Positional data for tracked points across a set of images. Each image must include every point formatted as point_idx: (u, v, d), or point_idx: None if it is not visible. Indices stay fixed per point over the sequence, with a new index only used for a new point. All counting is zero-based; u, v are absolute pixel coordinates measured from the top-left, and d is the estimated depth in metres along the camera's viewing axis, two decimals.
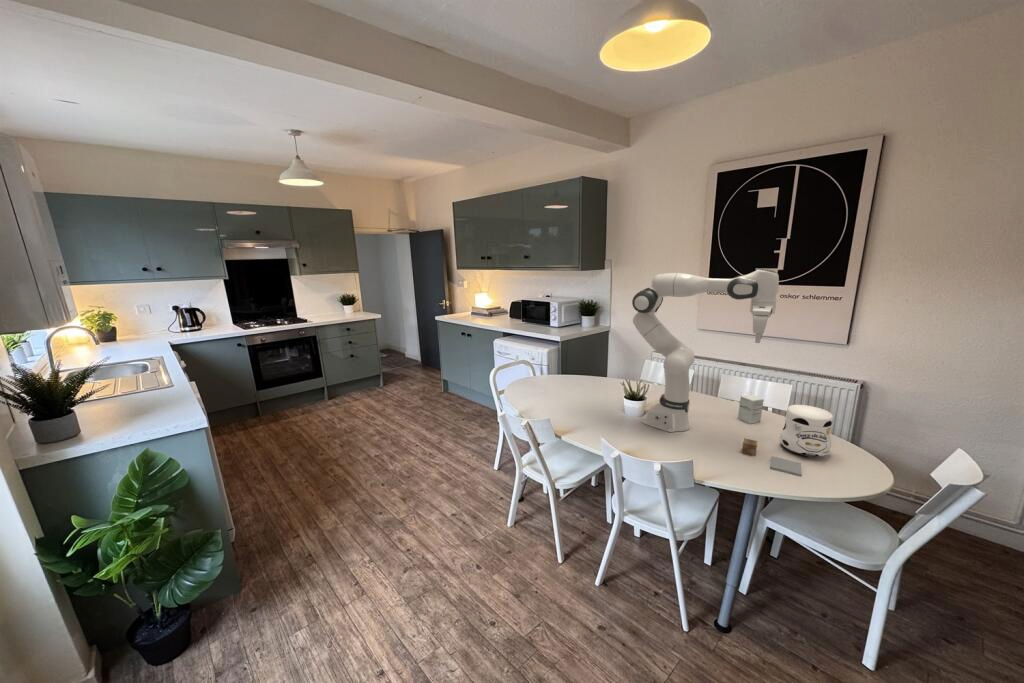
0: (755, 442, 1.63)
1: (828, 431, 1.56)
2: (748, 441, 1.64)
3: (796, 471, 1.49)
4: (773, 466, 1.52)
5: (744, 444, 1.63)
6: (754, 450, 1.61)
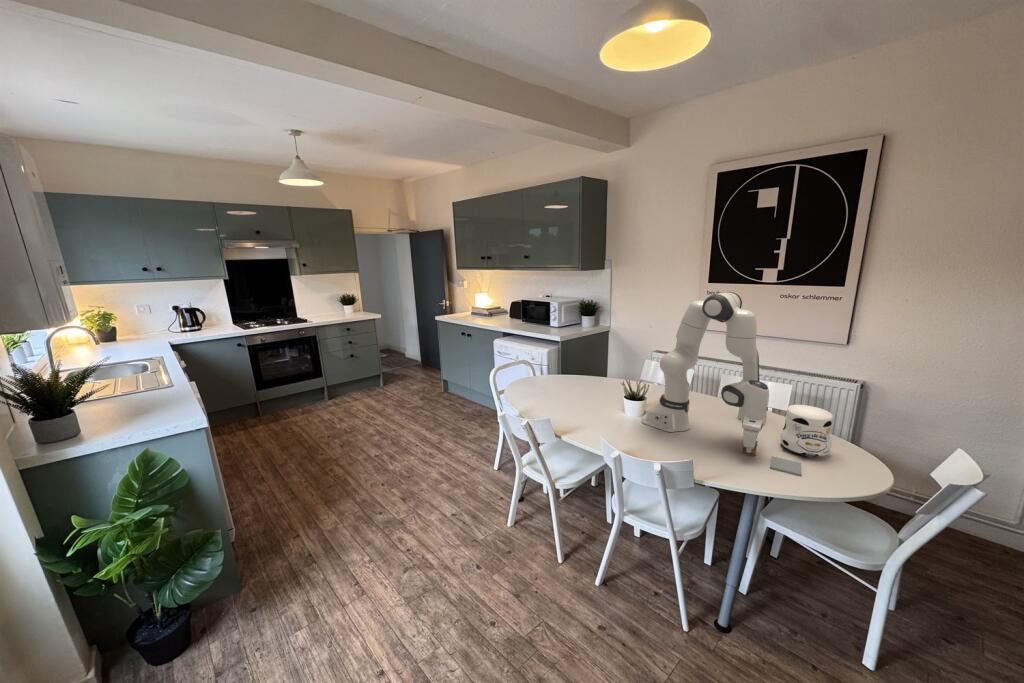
0: None
1: (828, 431, 1.56)
2: None
3: (796, 471, 1.49)
4: (773, 466, 1.52)
5: None
6: (754, 450, 1.61)
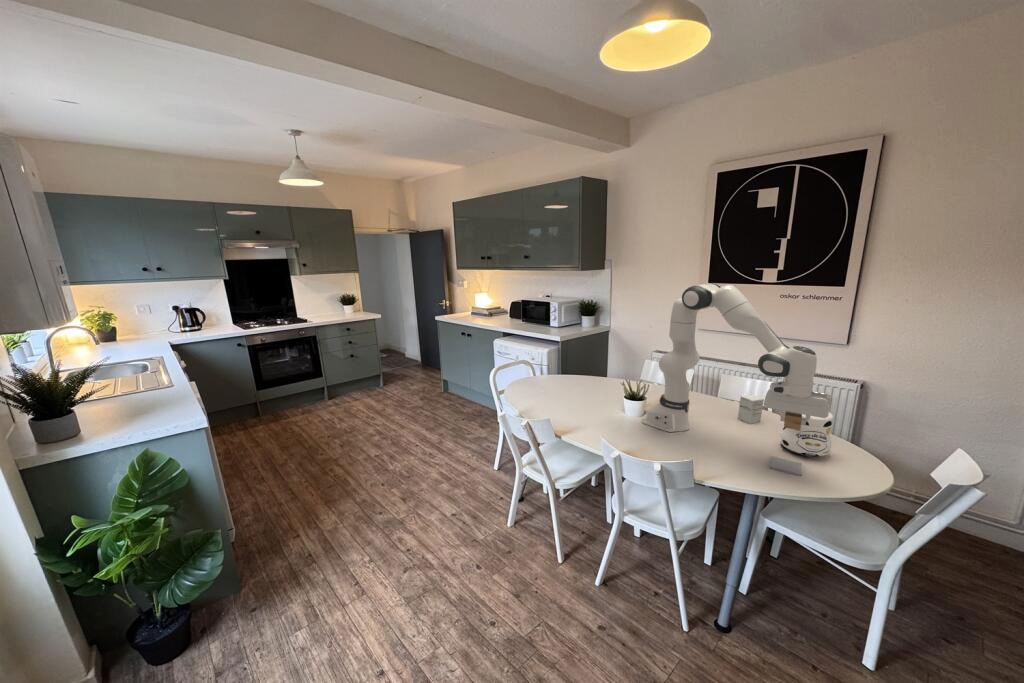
0: (795, 416, 1.46)
1: (828, 431, 1.56)
2: (793, 414, 1.49)
3: (796, 471, 1.49)
4: (773, 466, 1.52)
5: None
6: (785, 420, 1.49)
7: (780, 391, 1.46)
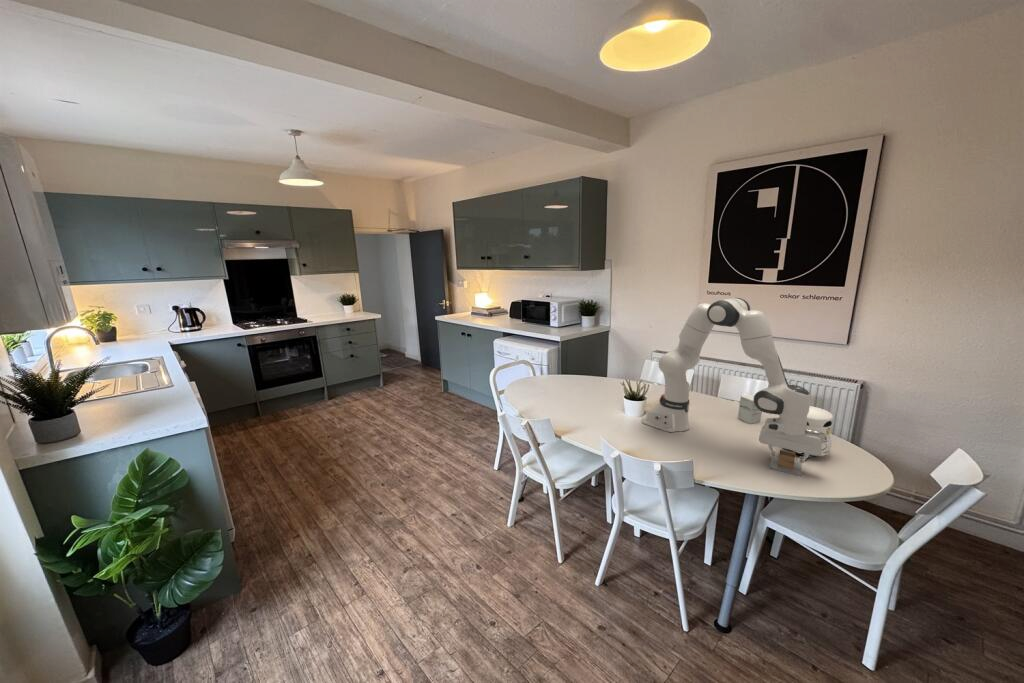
0: (789, 455, 1.50)
1: (828, 431, 1.56)
2: (787, 452, 1.52)
3: (796, 471, 1.49)
4: (773, 466, 1.52)
5: None
6: (778, 459, 1.52)
7: (774, 428, 1.50)
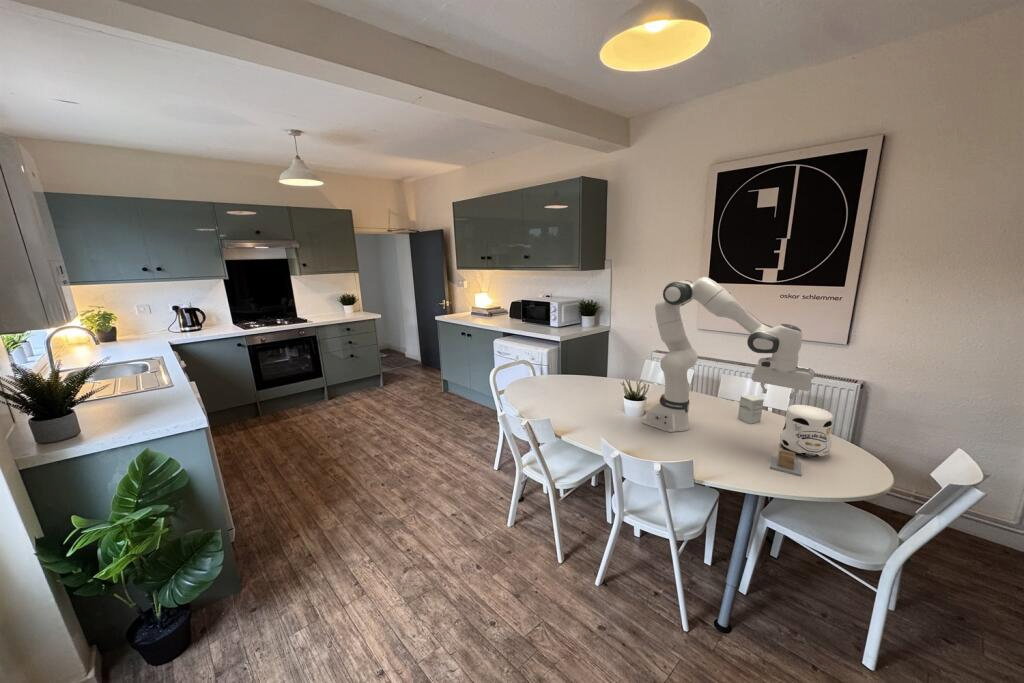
0: (789, 455, 1.50)
1: (828, 431, 1.56)
2: (787, 452, 1.52)
3: (796, 471, 1.49)
4: (773, 466, 1.52)
5: None
6: (778, 459, 1.52)
7: (767, 365, 1.57)
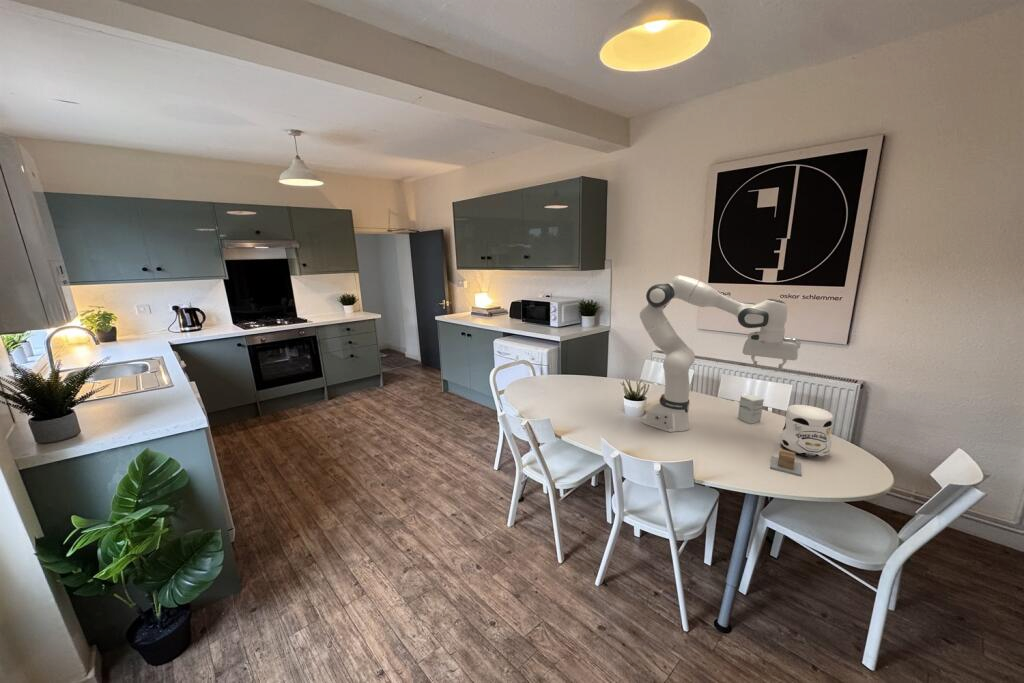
0: (789, 455, 1.50)
1: (828, 431, 1.56)
2: (787, 452, 1.52)
3: (796, 471, 1.49)
4: (773, 466, 1.52)
5: None
6: (778, 459, 1.52)
7: (756, 338, 1.68)
